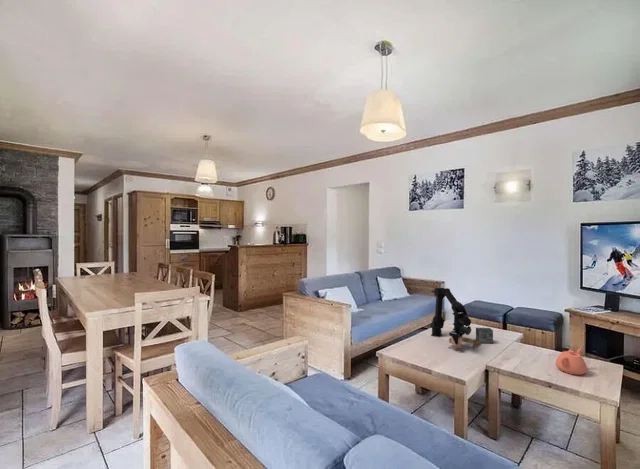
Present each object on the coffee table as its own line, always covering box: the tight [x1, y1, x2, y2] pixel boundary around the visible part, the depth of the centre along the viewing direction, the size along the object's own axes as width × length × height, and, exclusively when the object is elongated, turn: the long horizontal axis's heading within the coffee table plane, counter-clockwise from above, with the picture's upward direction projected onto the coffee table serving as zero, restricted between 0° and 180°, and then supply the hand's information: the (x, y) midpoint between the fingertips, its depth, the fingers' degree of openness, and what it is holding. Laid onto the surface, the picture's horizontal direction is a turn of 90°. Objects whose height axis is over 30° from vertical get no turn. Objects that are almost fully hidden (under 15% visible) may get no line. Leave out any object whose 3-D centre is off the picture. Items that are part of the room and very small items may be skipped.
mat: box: [448, 344, 469, 353], centre depth 232 cm, size 11×9×1 cm
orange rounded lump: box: [555, 347, 588, 376], centre depth 195 cm, size 22×15×12 cm
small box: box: [475, 327, 494, 345], centre depth 244 cm, size 11×6×10 cm, turn 84°
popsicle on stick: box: [450, 336, 463, 349], centre depth 232 cm, size 5×7×8 cm
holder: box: [448, 336, 481, 349], centre depth 241 cm, size 18×11×3 cm, turn 47°
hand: (458, 343), depth 232 cm, fingers open, 5 cm apart
